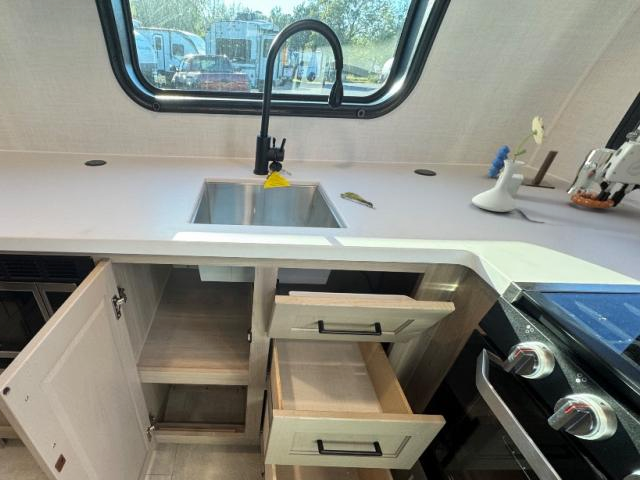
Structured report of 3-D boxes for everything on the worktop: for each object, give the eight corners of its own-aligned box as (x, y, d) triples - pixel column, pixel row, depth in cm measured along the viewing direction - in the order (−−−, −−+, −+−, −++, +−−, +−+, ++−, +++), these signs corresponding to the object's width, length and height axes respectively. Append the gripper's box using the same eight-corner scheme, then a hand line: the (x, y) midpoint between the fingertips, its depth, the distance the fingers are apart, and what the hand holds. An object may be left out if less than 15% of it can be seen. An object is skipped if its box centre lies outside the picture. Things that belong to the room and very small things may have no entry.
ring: (601, 200, 99) (605, 194, 98) (618, 211, 92) (623, 204, 91) (564, 197, 102) (568, 190, 101) (577, 206, 95) (581, 200, 94)
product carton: (511, 196, 108) (523, 174, 104) (512, 201, 104) (524, 178, 100) (490, 193, 111) (501, 171, 106) (490, 197, 107) (501, 175, 102)
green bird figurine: (369, 208, 96) (371, 201, 94) (337, 197, 105) (338, 191, 104) (378, 206, 97) (380, 199, 96) (346, 195, 107) (347, 189, 105)
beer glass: (593, 200, 107) (626, 152, 98) (570, 198, 108) (601, 151, 99) (578, 193, 113) (608, 148, 104) (557, 192, 114) (585, 147, 105)
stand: (544, 184, 122) (564, 150, 115) (553, 190, 115) (575, 154, 108) (516, 181, 124) (534, 147, 117) (524, 187, 118) (543, 152, 110)
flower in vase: (508, 218, 92) (563, 120, 77) (465, 208, 98) (507, 115, 83) (516, 207, 99) (567, 116, 84) (475, 198, 106) (516, 112, 91)
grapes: (500, 182, 122) (517, 148, 115) (480, 178, 126) (495, 146, 119) (507, 177, 129) (523, 145, 122) (488, 173, 133) (503, 142, 126)
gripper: (621, 138, 85) (577, 205, 96) (702, 142, 80) (646, 212, 91) (606, 134, 90) (567, 198, 101) (681, 138, 86) (631, 204, 97)
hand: (605, 204), depth 96 cm, fingers closed on ring, 2 cm apart
